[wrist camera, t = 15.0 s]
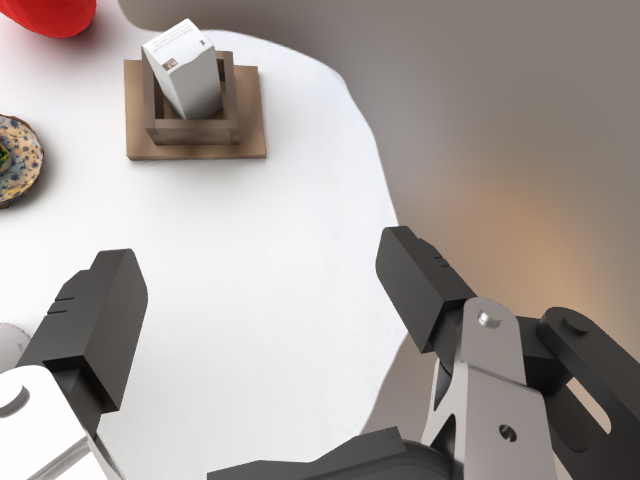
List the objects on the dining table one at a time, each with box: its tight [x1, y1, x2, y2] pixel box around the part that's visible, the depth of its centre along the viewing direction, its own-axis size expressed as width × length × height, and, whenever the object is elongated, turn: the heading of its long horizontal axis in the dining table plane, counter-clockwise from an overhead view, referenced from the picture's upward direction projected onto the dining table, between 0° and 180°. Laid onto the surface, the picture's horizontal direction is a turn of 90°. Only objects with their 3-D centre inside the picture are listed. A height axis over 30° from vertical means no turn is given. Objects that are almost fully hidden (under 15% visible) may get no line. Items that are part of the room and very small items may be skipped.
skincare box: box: [142, 19, 223, 120], centre depth 38 cm, size 6×4×12 cm
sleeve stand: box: [124, 46, 266, 160], centre depth 42 cm, size 18×14×6 cm
